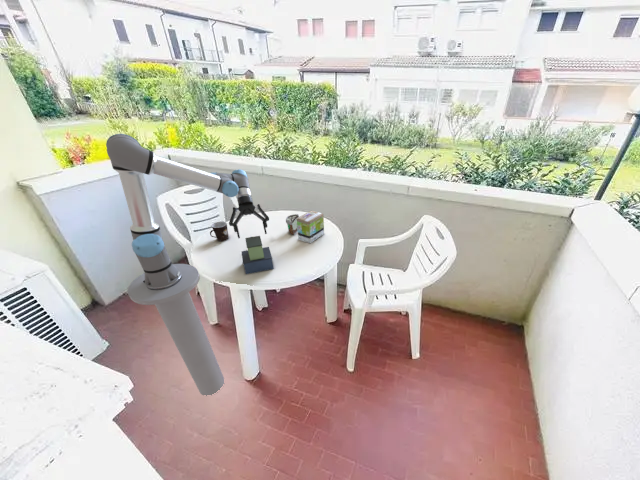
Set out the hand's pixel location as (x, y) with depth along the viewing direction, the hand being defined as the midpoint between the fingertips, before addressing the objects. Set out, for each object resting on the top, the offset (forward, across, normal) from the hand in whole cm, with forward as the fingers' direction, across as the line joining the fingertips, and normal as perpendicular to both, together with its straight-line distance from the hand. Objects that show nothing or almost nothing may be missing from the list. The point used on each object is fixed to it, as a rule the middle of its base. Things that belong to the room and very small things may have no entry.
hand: (252, 235), depth 148 cm
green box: (+10, 0, -2) cm, 10 cm away
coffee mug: (-12, +19, -34) cm, 41 cm away
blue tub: (+15, 0, -7) cm, 17 cm away
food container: (-9, -25, -31) cm, 41 cm away
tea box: (0, -35, -23) cm, 42 cm away
